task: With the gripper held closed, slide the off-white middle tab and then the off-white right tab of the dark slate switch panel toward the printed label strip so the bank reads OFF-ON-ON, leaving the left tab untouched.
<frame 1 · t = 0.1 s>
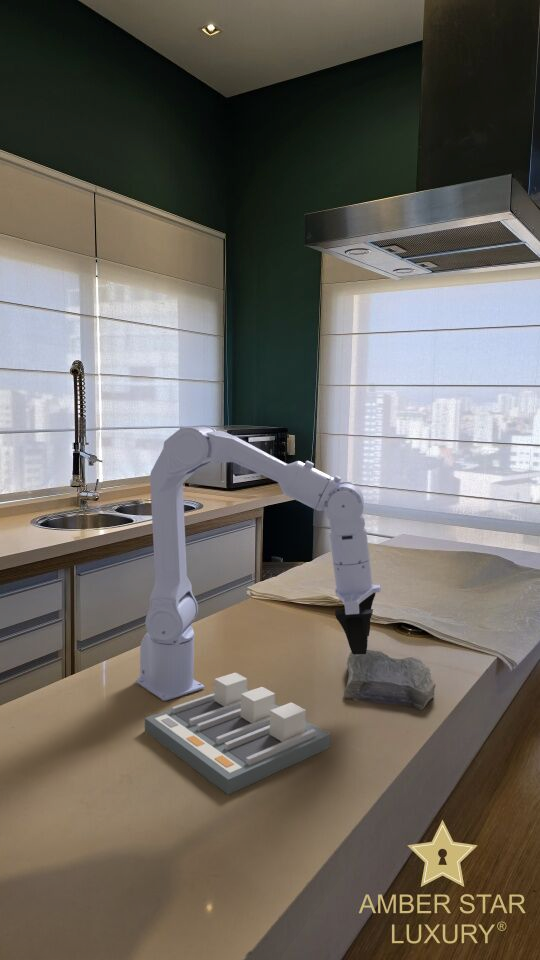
hand: (361, 644, 105), 10 cm above the countertop, tool pointing down, fingers open, 7 cm apart
tab right: (287, 722, 93), point 4 cm above the countertop, slide at 0.0 cm
tab middle: (257, 705, 97), point 4 cm above the countertop, slide at 0.0 cm
switch panel: (235, 739, 95), on the countertop
tab left: (230, 689, 102), point 4 cm above the countertop, slide at 0.0 cm
grey rock: (388, 688, 115), on the countertop
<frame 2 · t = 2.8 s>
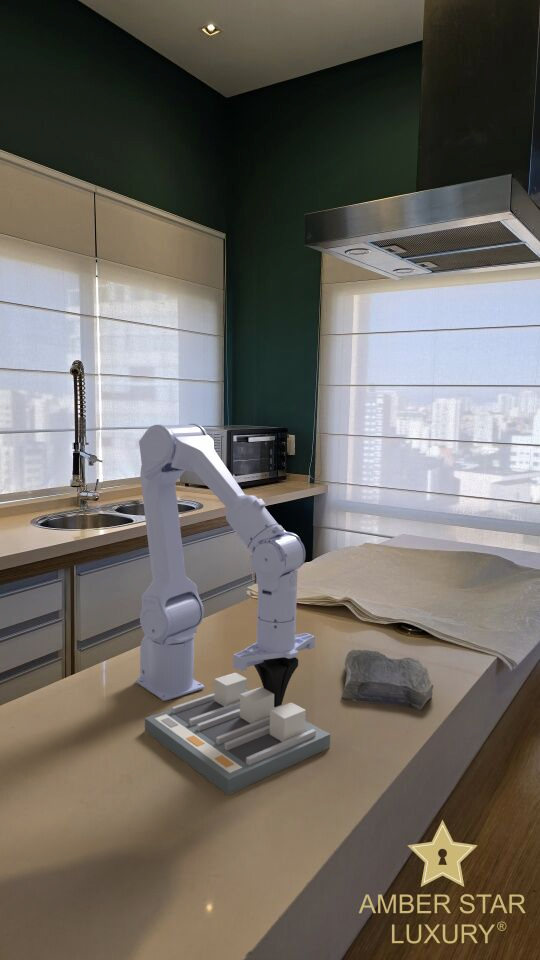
hand: (274, 703, 100), 3 cm above the countertop, tool pointing down, fingers closed
tab middle: (257, 705, 97), point 4 cm above the countertop, slide at 0.2 cm, touching gripper
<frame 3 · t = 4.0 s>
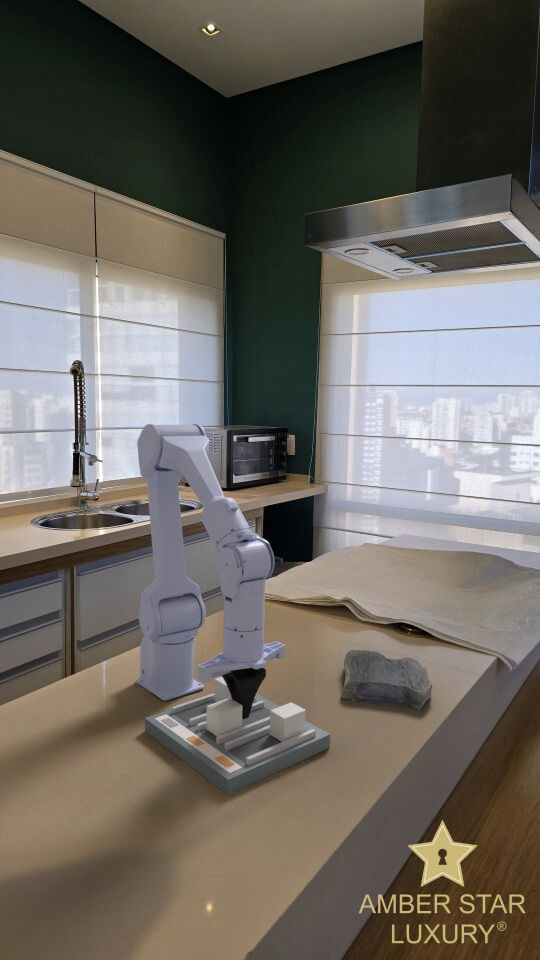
hand: (241, 715, 96), 3 cm above the countertop, tool pointing down, fingers closed
tab middle: (224, 717, 93), point 4 cm above the countertop, slide at 6.1 cm, touching gripper
everything else where it was.
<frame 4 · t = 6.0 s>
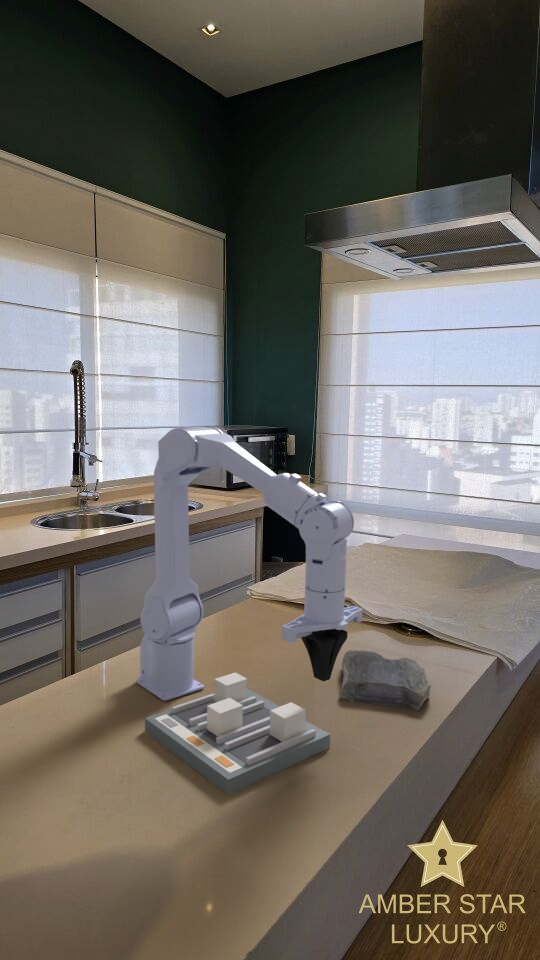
hand: (321, 678, 96), 9 cm above the countertop, tool pointing down, fingers closed
tab middle: (224, 717, 93), point 4 cm above the countertop, slide at 6.1 cm
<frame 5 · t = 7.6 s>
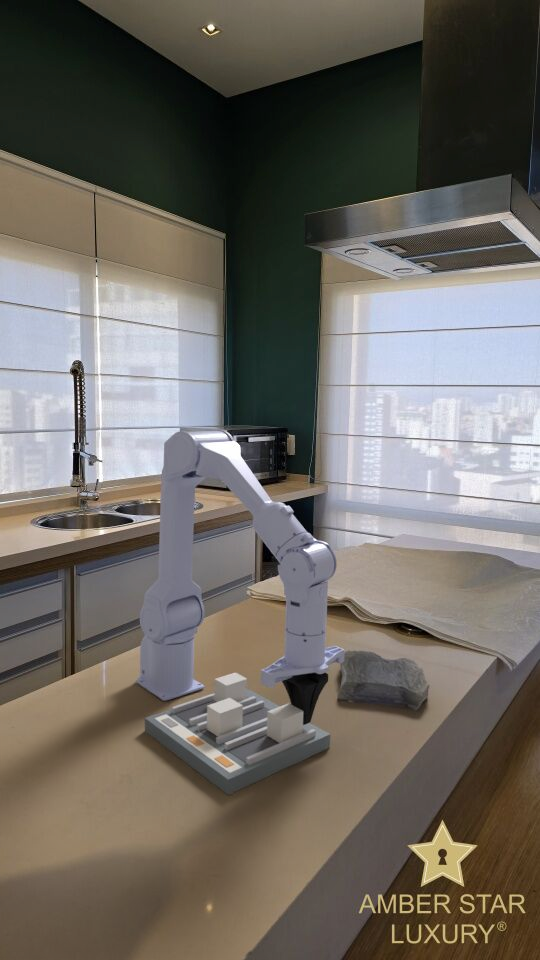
hand: (302, 721, 95), 3 cm above the countertop, tool pointing down, fingers closed
tab right: (285, 723, 92), point 4 cm above the countertop, slide at 0.5 cm, touching gripper
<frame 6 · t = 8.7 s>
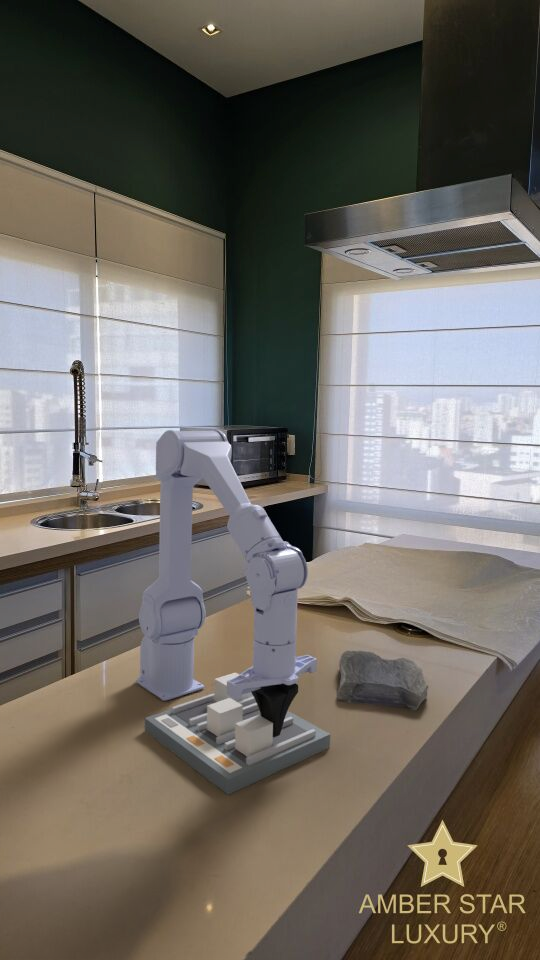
hand: (272, 733, 91), 3 cm above the countertop, tool pointing down, fingers closed
tab right: (253, 735, 89), point 4 cm above the countertop, slide at 6.1 cm, touching gripper
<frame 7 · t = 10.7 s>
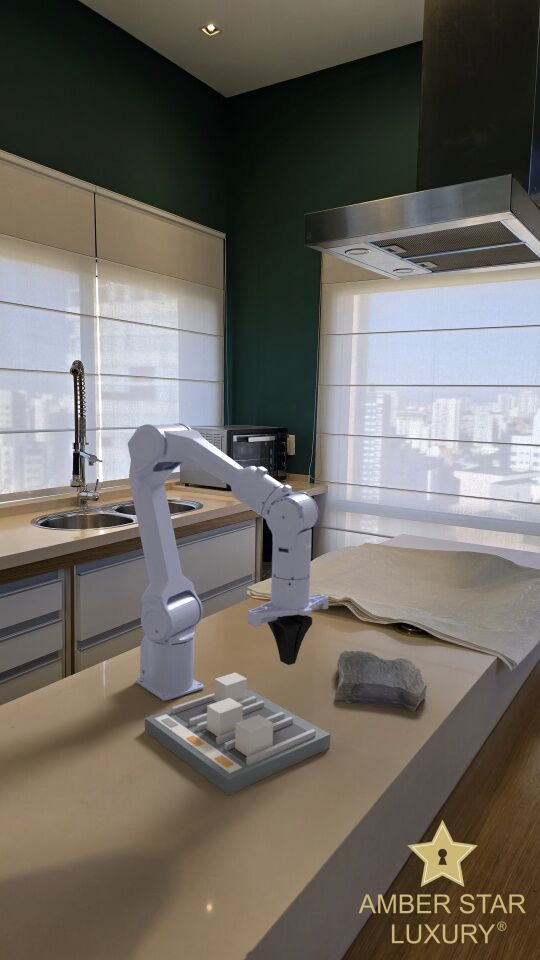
hand: (287, 662, 100), 9 cm above the countertop, tool pointing down, fingers closed
tab right: (254, 735, 89), point 4 cm above the countertop, slide at 6.1 cm
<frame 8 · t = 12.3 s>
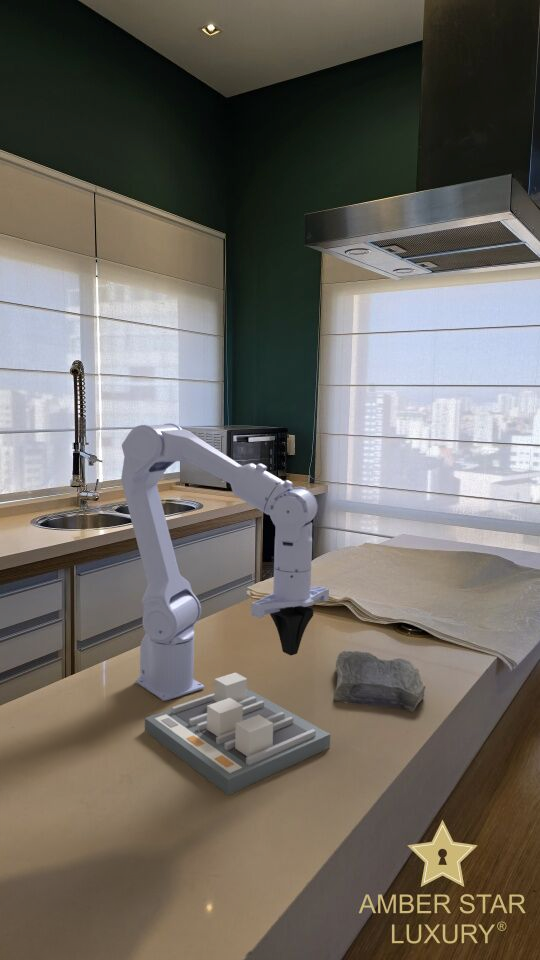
hand: (289, 652, 103), 9 cm above the countertop, tool pointing down, fingers closed
at the end: tab middle slide at 6.1 cm; tab right slide at 6.1 cm; tab left slide at 0.0 cm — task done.
